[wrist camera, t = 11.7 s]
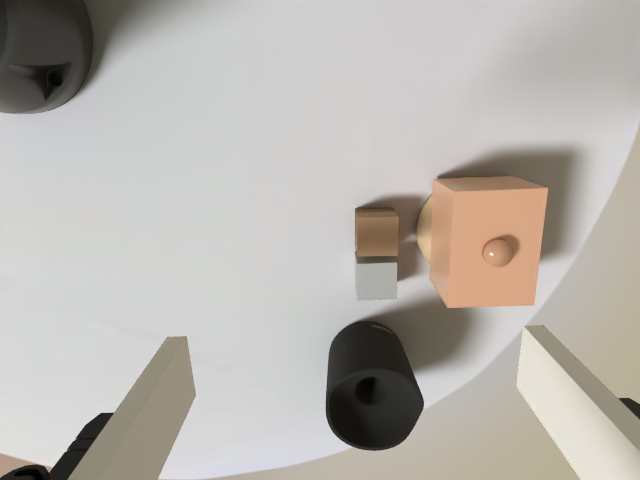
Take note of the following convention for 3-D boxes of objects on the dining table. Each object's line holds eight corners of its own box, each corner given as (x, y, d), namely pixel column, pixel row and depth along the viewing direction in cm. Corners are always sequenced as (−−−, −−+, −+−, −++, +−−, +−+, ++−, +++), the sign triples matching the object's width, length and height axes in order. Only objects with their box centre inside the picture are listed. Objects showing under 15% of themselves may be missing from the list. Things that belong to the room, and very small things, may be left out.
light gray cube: (354, 251, 45) (357, 263, 41) (391, 249, 45) (397, 262, 41) (355, 284, 46) (357, 300, 43) (390, 283, 46) (396, 299, 42)
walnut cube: (355, 208, 44) (357, 217, 40) (392, 207, 44) (399, 216, 40) (355, 244, 45) (357, 256, 41) (391, 243, 45) (397, 255, 41)
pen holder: (418, 365, 49) (440, 427, 40) (349, 397, 51) (354, 464, 41) (382, 303, 47) (397, 352, 37) (311, 339, 48) (307, 394, 39)
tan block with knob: (433, 179, 42) (457, 193, 34) (512, 175, 42) (554, 190, 34) (429, 278, 45) (450, 312, 38) (503, 276, 45) (539, 310, 37)
